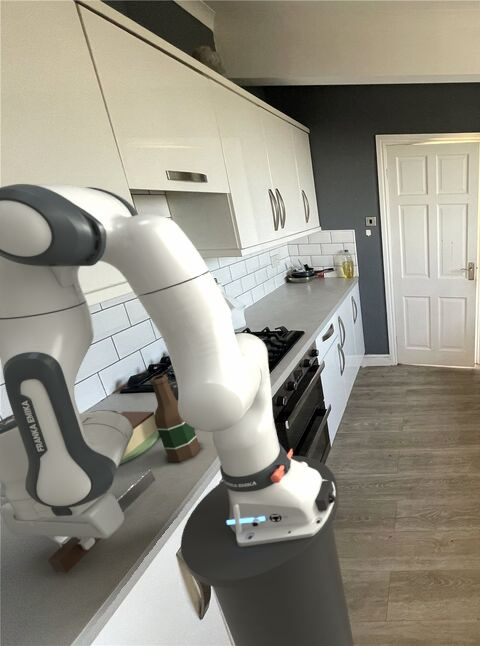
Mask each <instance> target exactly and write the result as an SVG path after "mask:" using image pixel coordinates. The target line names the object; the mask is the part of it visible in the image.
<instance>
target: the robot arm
mask: <svg viewBox="0 0 480 646" xmlns="http://www.w3.org/2000/svg"><path fill="white" fill-rule="evenodd" d="M98 262H102V263H105V264H108V265H110V266H111V267H114V269H116V270H117V271H118V272H119V273H120V274H121V275H122V277H123V278H124V280H125V281H126V282H127V283H128V285H129V287H130V288H131V290H132V291H133V293H134V295H135V296H136V298H137V299H138V301H139V302H140V304H141V306H142V307H143V309H144V310H145V312H146V313H147V315H148V316H149V318H150V320H151V321H152V323H153V325H154V326H155V328H156V330H157V331H158V333H159V334H160V336H161V338H162V340H163V343H164V345H165V348H166V351H167V353H168V356H169V359H170V362H171V366H172V370H173V373H174V376H175V381H177V385H178V411H179V414H180V416H181V418H182V419H183V421H184V422H185V423H186V424H188V425H189V426H191V427H192V428H194V430H197V431H201V432H206V433H212V440H213V444H214V448H215V450H216V453H217V456H218V461H219V463H220V466H219V471H220V475H221V480H222V481H223V482H224V485H225V487H226V488H227V489H228V494H229V502H230V515H229V520H227V525H230V527H231V529H232V530H233V531H234V532H235V533H236V538H237V544H238V546H240V547H244V546H251V545H258V544H265V543H272V542H279V541H286V540H293V539H300V538H307V537H312V536H313V535H315V534H316V533H317V532H318V531H319V530H320V529H321V528H322V526H323V525H324V523H325V522H326V520H327V518H328V517H329V515H330V512H331V510H332V507H333V504H334V501H335V495H336V490H335V486H334V483H333V482H332V481H328V480H323V479H322V477H321V475H320V474H319V472H318V471H317V470H315V469H313V468H310V467H308V465H307V464H306V463H305V462H297V461H295V460H293V459H291V456H293V454H294V451H293V448H290V450H289V451H288V453H287V451H286V450H285V448H284V447H283V445H281V443H280V442H279V438H278V435H277V429H276V424H275V419H274V412H273V398H272V396H273V395H272V387H271V386H272V385H271V376H270V369H269V353H268V348H267V345H266V343H265V342H264V341H263V340H262V339H261V338H259V337H258V336H256V335H254V334H251V333H247V332H239V333H236V332H235V329H234V324H233V316H232V315H233V314H232V310H231V308H230V306H229V304H228V302H227V301H226V299H225V296H224V295H223V293H222V291H221V289H220V287H219V285H218V284H217V281H216V280H215V278H214V276H213V275H212V273H211V271H210V269H209V267H208V265H207V264H206V262H205V260H204V259H203V257H202V255H201V253H200V252H199V251H198V250H197V248H196V246H195V244H193V242H192V241H191V240H190V238H189V236H188V235H187V234H186V233H185V232H184V231H183V229H182V228H181V227H180V225H178V224H177V223H176V222H175V221H174V220H172V219H171V218H169V217H167V216H164V215H160V214H156V213H155V214H153V213H144V214H143V213H142V214H139V213H138V212H137V210H136V209H135V207H134V206H133V205H132V204H131V203H130V202H128V201H127V200H126V199H125V198H123V197H121V196H120V195H118V194H116V193H115V192H112V191H109V190H106V189H102V188H99V187H92V186H89V187H88V186H87V187H84V186H78V185H77V186H76V185H72V184H66V183H37V184H29V183H17V184H10V185H4V186H1V187H0V364H1V368H2V375H3V381H4V387H5V391H6V396H7V399H8V402H9V405H10V409H11V412H12V414H10V415H8V416H6V417H5V418H3V419H1V420H0V484H1V485H2V486H3V488H4V492H3V493H2V494H1V496H0V502H1V503H2V506H1V507H0V514H1V517H2V520H3V522H4V524H5V526H6V528H7V529H8V531H9V532H11V533H12V534H14V535H16V536H17V535H19V536H37V537H39V536H40V537H41V536H42V537H47V538H48V539H50V540H51V541H53V542H55V543H56V544H58V545H59V548H61V547H62V546H63V545H64V544H65V543H66V542H67V541H68V540H70V539H71V538H72V537H77V538H78V539H81V541H80V542H79V543H77V545H78V547H79V549H82V550H88V549H89V548H90V547H91V546H92V545H93V544H94V543H95V540H94V538H101V539H108V538H110V537H112V535H113V534H114V533H115V532H116V531H117V530H118V529H119V528H120V527H121V526H122V524H123V523H124V521H125V515H124V512H122V510H121V508H120V506H119V503H118V502H117V498H116V497H115V495H114V494H112V493H111V492H110V491H109V490H110V489H111V488H112V485H113V483H114V480H115V477H116V473H117V470H118V468H119V466H120V465H119V463H120V461H121V459H122V457H123V455H124V453H125V451H126V448H127V446H128V444H129V442H130V440H131V437H132V435H133V425H132V423H131V422H130V420H129V419H128V418H126V417H125V416H124V415H122V414H120V413H121V412H118V411H116V412H114V411H115V410H109V409H108V410H105V409H104V410H103V409H102V410H95V411H90V412H81V413H80V412H79V409H78V405H77V402H76V399H75V397H76V396H75V385H76V381H77V377H78V376H77V375H78V373H79V371H80V368H81V366H82V363H83V362H84V359H85V357H86V355H87V353H88V351H89V349H90V347H91V346H92V344H93V341H94V337H95V334H94V333H95V332H94V330H95V329H94V322H93V321H94V320H93V316H92V312H91V309H90V306H89V303H88V301H87V298H86V295H85V293H84V290H83V288H82V286H81V283H80V279H79V270H80V268H81V267H92V266H95V265H96V264H97V263H98ZM319 522H320V523H319ZM317 523H318V524H317ZM250 538H251V539H250Z"/></svg>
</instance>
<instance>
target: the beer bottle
mask: <svg viewBox="0 0 480 646" xmlns="http://www.w3.org/2000/svg"><path fill="white" fill-rule="evenodd" d="M168 380H169V377H168V376H167V375H166V374H159V375H155V376H153V377H151V378H150V379H149V381H150V385H152V387H153V391H154V395H155V399H156V403H157V407H156V409H155V411H154V415H155V423H156V427H157V430H158V432H159V437H160V440H161V443H162V445H163V448H164V451H165V453H166V456H167V458H168V460H169V462H175V463H181V462H184V461H186V460H188V459H191V458H193V457H194V456H195V455H196V454H197V453H199V451H201V446H200V443H199V439H198V437H197V433H196V429H194V428H192V427H191V426H189V425H188V424H186V423H185V422H184V421H183V419H182V418H181V416H180V414H179V411H178V401H177V400H176V398H175V397H174V395H173V393H172V391H171V388H170V386H169V384H168Z"/></svg>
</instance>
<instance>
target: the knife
mask: <svg viewBox="0 0 480 646" xmlns="http://www.w3.org/2000/svg"><path fill="white" fill-rule="evenodd" d="M155 481H156V477H155V476H154V473H153V471H152V469H151V468H150V469H148V470H147V471H146V472H145V473H144V474H142V476H141V477H140V478H138V479H137V481H135V482H134V483H133V484H132V485H130V487H129V488H128V489H127V490H126V491H124V493H122V494H121V495H120V496H119V497H118V498H116V500H117V502H118V503H119V506H120V508H121V510H122V512H123V513H124V512H125V511H126V510H127V509H128V508H129V507H130V506H131V505H132V504H133V503H134V502H135V501H136V500H137V499H138V498H140V496H141V495H142V494H143V493H144V492H145V491H146V490H147V489H149V487H151V485H152V484H153V483H155ZM94 540H95V543H94V544H93V545H92V546H91V547H90V548H89V549H88V550H82V549H79V547H78V545H77V543H79V542H80V541H81V539H78V538H77V537H72V538H71V539H70V540H68V541H67V542H66V543H65V544H64V545H63V546H62V547H59V549H57V550H56V551H55V552H54V553H53V554H52V555H51V556H50V557H48V558H47V561H48V563H49V565H50V567H51V568H52V570H53V571H54V572H55V573H60V574H61V573H62V574H68V573H69V572H70V571H71V569H72V568H74V567H75V566H76V565H77V564H78V563H79V562H80V561H81V560H82V559H83V558H84V557H85V556H86V555H87V554H88V553H89V552H90V550H92V549H93V547H95V546H96V545H97V544H98V543H99V542H100V540H102V538H94Z"/></svg>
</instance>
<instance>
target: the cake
mask: <svg viewBox="0 0 480 646" xmlns="http://www.w3.org/2000/svg"><path fill="white" fill-rule="evenodd" d="M119 413H120V414H122V415H124V416H125V417H126V418H128V419H129V420H130V422H131V423H132V425H133V435H132V437H131V440H130V442H129V444H128V446H127V448H126V451H125V453H124V455H123V457H122V459H121V461H120V463H119V465H118V466H120V465H122V464H124V463H126V462H128V461H131V460H132V459H134V458H137V457H138V456H139V455H141V454H142V453H144V452H146V451H147V450H148V449H150V448H151V447H152V446H153V445H154V444H155V443H156V442H157V440H158V439H159V437H160V435H159V432H158V430H157V427H156V423H155V411H122V412H119Z"/></svg>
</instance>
